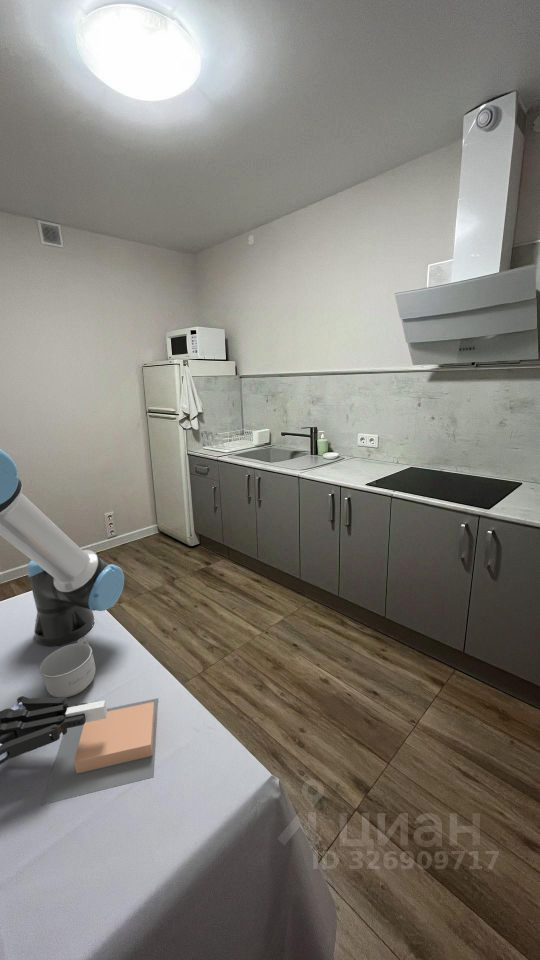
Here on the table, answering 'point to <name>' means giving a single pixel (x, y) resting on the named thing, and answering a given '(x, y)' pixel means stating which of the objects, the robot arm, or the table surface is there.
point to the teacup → (68, 669)
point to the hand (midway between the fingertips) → (105, 709)
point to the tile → (116, 738)
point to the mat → (76, 784)
